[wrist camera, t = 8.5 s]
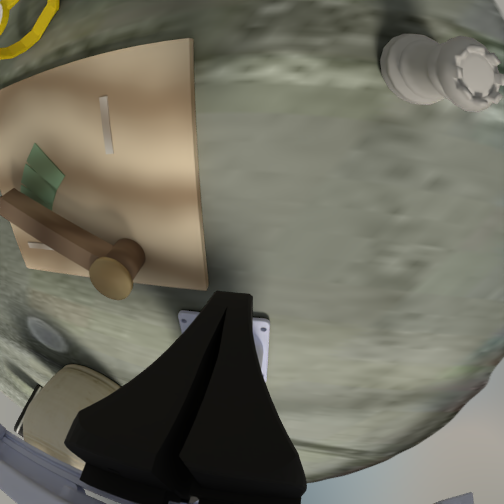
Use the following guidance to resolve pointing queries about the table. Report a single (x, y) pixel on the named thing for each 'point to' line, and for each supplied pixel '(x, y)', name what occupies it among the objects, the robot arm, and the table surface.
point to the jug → (63, 409)
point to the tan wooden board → (112, 157)
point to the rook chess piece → (442, 71)
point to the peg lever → (77, 244)
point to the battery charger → (19, 423)
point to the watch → (0, 21)
